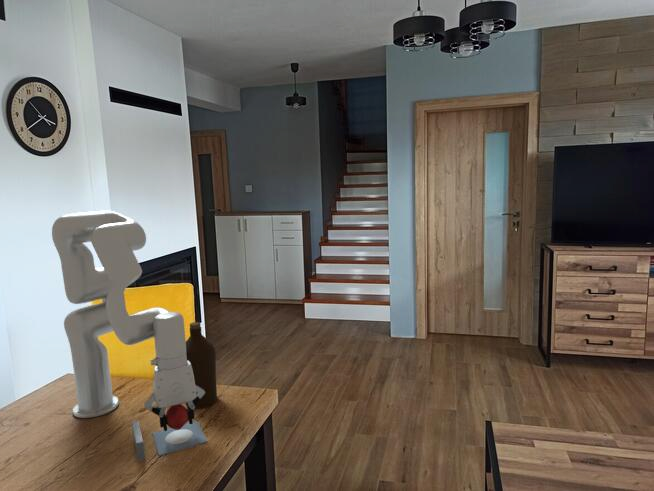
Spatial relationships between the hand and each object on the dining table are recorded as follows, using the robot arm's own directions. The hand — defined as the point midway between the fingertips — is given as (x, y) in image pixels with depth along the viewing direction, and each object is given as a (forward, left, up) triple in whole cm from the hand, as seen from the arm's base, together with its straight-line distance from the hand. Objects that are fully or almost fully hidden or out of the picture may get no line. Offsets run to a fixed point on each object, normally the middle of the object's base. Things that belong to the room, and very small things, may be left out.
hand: (177, 424), depth 123 cm
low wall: (0, -10, -4) cm, 11 cm away
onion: (0, 0, -2) cm, 2 cm away
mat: (0, 0, -4) cm, 4 cm away
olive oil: (-18, +10, -4) cm, 21 cm away
